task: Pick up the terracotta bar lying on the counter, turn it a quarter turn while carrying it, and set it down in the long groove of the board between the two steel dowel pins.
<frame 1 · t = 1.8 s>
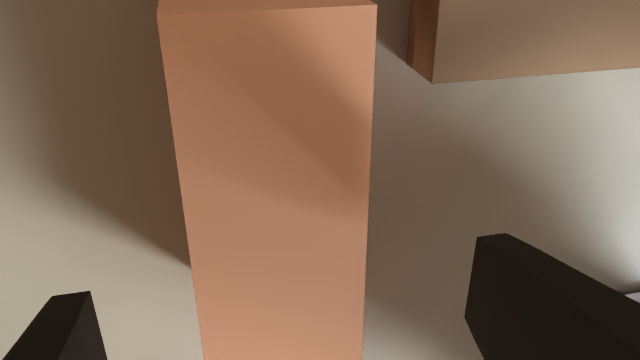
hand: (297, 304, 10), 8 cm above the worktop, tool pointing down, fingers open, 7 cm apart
bar: (250, 135, 18), on the worktop
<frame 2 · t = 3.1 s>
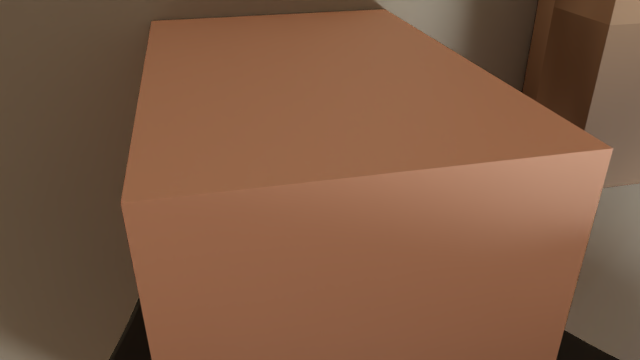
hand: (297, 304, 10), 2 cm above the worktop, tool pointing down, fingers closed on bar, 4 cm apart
bar: (282, 254, 12), on the worktop, touching gripper
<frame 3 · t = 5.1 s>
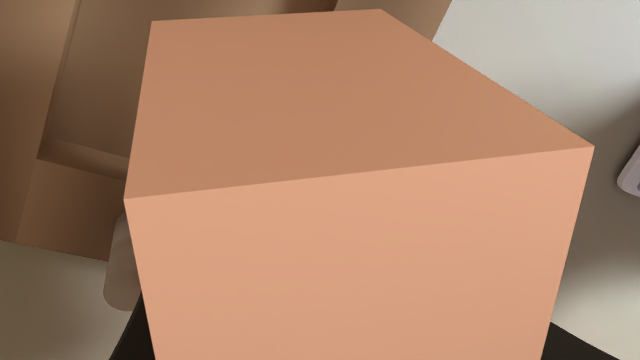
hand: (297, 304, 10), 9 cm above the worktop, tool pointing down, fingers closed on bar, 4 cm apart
bar: (281, 250, 12), point 7 cm above the worktop, touching gripper
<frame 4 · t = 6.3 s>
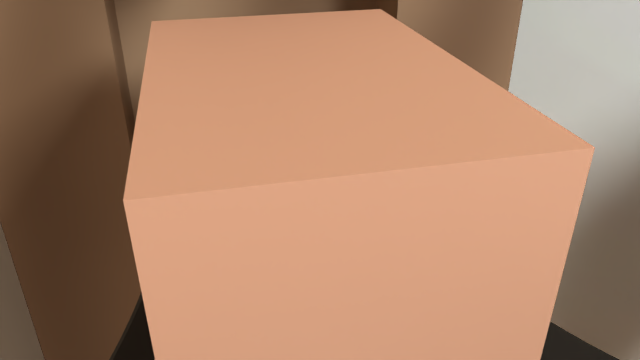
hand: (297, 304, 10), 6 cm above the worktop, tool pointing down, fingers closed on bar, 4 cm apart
board: (259, 168, 15), on the worktop
bar: (281, 250, 12), point 4 cm above the worktop, touching gripper
when the fingers open (3 cm above the worktop, at t = 7.3 s): bar stays where it is, resting on board.
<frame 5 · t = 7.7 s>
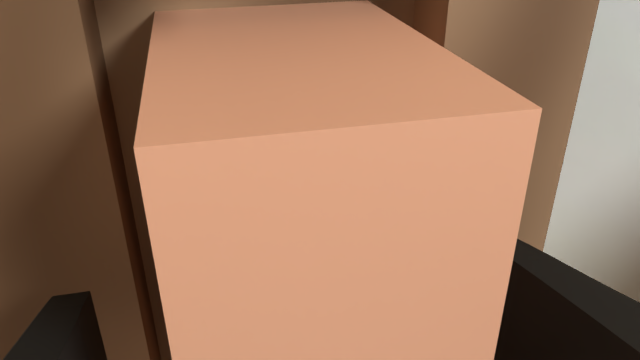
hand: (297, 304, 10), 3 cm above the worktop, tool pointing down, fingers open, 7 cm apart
board: (272, 216, 13), on the worktop
bar: (276, 229, 13), resting on board
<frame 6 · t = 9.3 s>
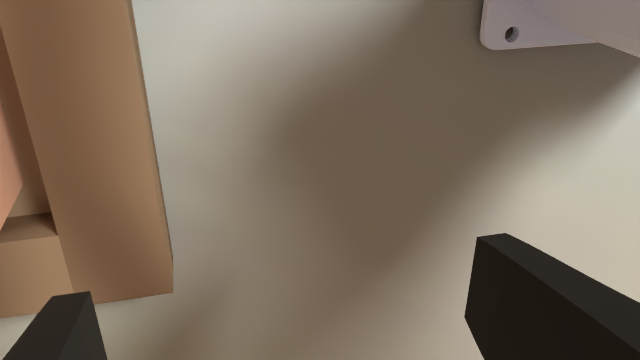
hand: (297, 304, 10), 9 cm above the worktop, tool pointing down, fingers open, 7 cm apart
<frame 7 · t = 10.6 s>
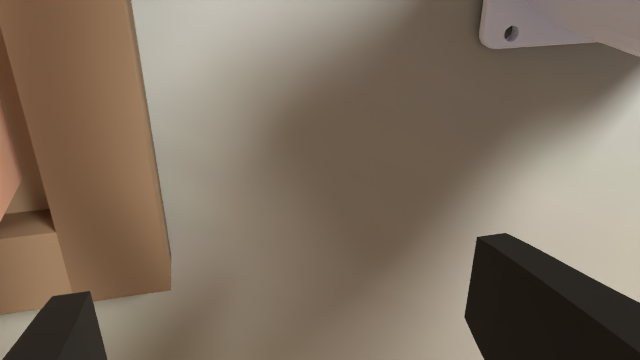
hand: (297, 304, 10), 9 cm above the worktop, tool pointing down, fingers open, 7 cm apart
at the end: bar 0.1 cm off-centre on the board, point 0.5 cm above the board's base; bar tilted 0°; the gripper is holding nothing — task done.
